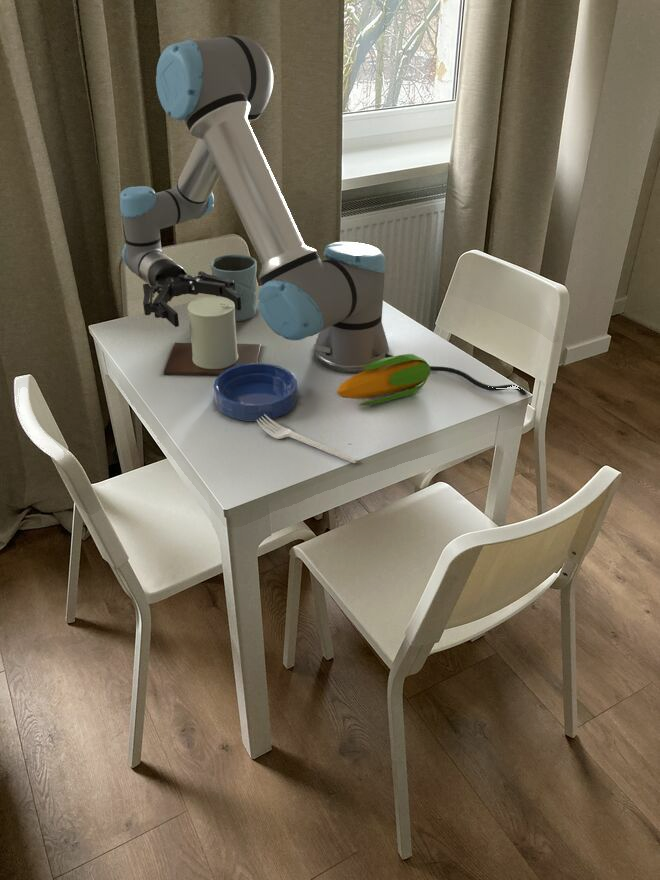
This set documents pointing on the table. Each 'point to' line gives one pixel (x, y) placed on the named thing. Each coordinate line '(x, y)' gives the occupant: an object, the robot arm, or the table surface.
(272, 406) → the bowl
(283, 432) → the fork
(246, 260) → the blue cup
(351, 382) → the corn
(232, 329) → the can
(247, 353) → the board
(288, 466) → the table surface
